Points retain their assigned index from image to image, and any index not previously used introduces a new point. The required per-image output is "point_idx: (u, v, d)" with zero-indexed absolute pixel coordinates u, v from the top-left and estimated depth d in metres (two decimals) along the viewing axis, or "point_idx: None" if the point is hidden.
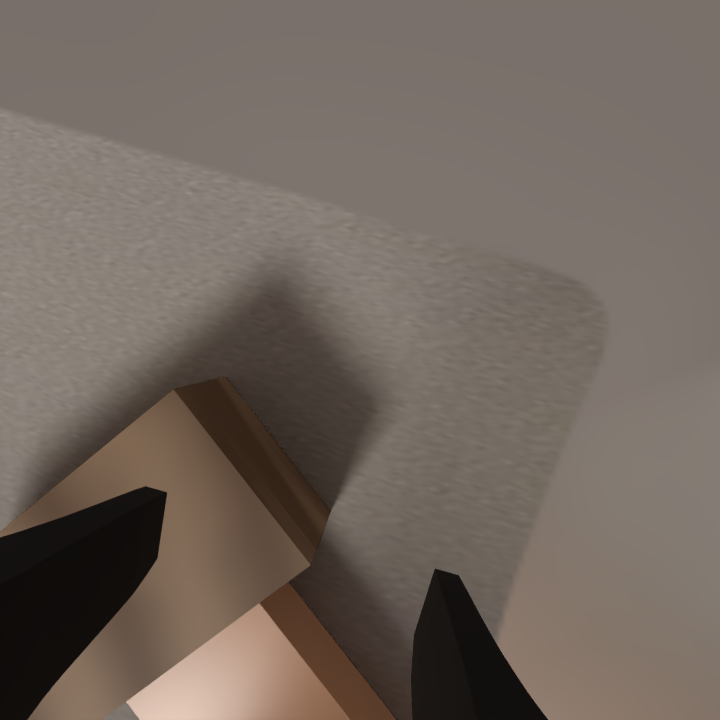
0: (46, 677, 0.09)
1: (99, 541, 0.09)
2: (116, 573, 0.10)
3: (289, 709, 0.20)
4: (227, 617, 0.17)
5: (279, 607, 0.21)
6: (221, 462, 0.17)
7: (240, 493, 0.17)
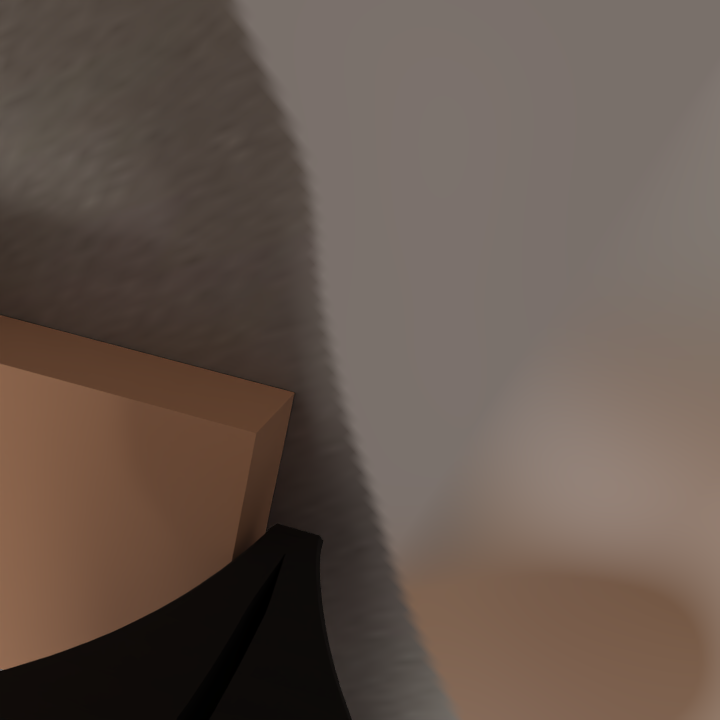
0: None
1: (265, 590, 0.09)
2: None
3: None
4: None
5: None
6: None
7: None
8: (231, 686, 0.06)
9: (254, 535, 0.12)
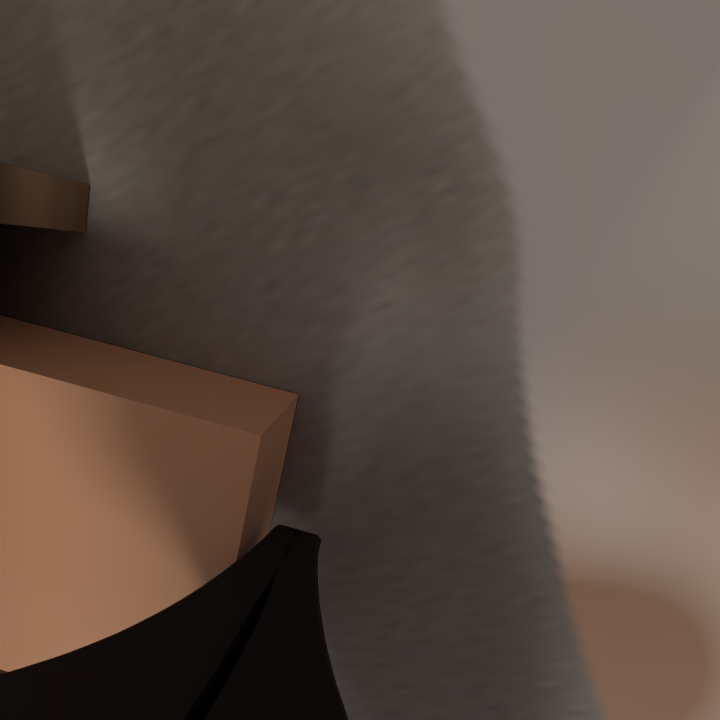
0: None
1: (268, 591, 0.09)
2: None
3: None
4: None
5: None
6: None
7: None
8: (227, 685, 0.06)
9: (258, 537, 0.11)
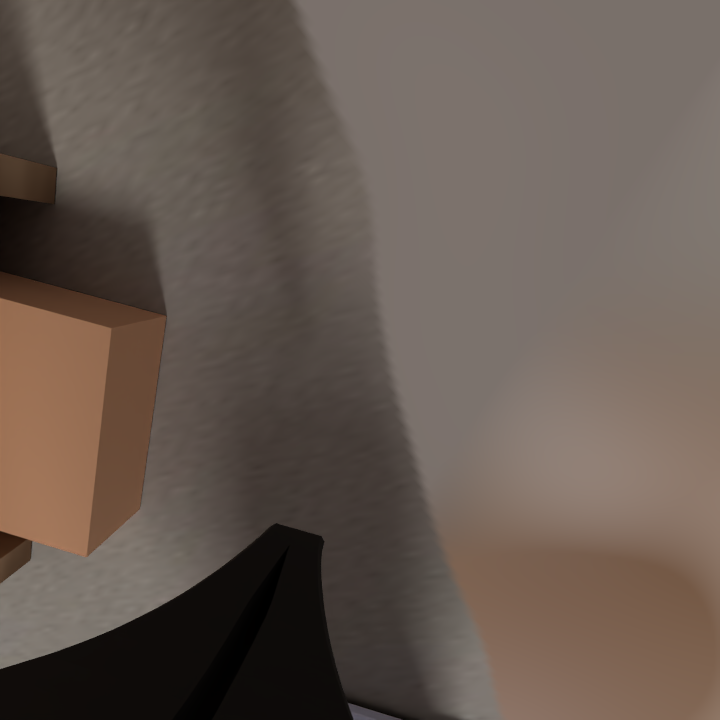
0: None
1: (263, 590, 0.09)
2: None
3: None
4: None
5: None
6: None
7: None
8: (233, 687, 0.06)
9: (132, 419, 0.16)
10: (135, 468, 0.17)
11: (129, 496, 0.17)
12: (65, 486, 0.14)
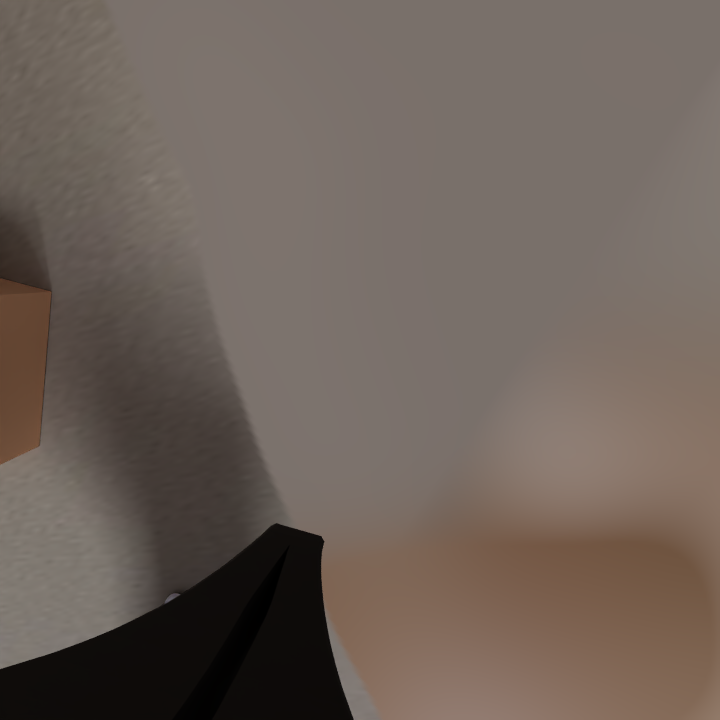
0: None
1: (263, 590, 0.09)
2: None
3: None
4: None
5: None
6: None
7: None
8: (233, 687, 0.06)
9: (22, 369, 0.20)
10: (30, 410, 0.22)
11: (26, 432, 0.22)
12: None
